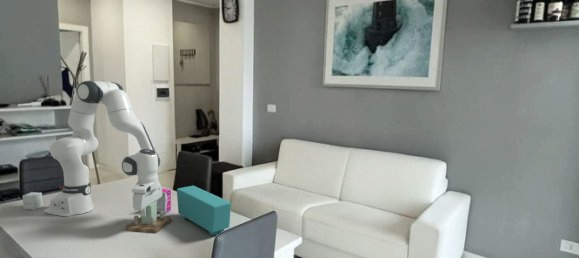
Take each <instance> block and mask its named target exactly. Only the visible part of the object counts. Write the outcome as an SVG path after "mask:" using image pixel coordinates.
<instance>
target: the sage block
mask: <svg viewBox="0 0 579 258" xmlns="http://www.w3.org/2000/svg"><path fill="white" fill-rule="evenodd" d="M145 210H146V212H147V215H146V216H142V212H141V211H140V217H141V224H150V225H151V217H155V222H156V221H157V215H158V213H157V202H153V203H152V204H150V205H149V206H147V207H146V209H145Z"/></svg>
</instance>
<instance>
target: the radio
mask: <svg viewBox="0 0 579 258" xmlns="http://www.w3.org/2000/svg"><path fill="white" fill-rule="evenodd" d="M176 196H177V198H176V199H177V212H178V214H179V215H181V216H183V220H186V219H188V220H189V221H191V222H193V223H194V224H196V225H198V226H199V227H201V228H202V229H204V230H207V231H208V233H209V235H210V236H214V235H219V234H218V233H220V232H222V231H224V232H225V229H229V228H230V224H231V210H232V208H231V207H232V202H230V201H228V200H226V199H224V198H222V197H219V196H218V195H215V194H213V193H210V192H209V191H206V190H204V189H201V188H200V187H197V186H195V185H189V186H184V187H180V188H179V187H178V188H177V189H176ZM220 234H221V233H220Z"/></svg>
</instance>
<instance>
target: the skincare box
mask: <svg viewBox="0 0 579 258" xmlns="http://www.w3.org/2000/svg"><path fill="white" fill-rule="evenodd" d="M22 205H23V206H22V207H23V210H37V209H39V208H41V207H43V206H44V204H43V193H42V192H33V191H31V192H29V193H25V194H23V195H22Z"/></svg>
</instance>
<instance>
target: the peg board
mask: <svg viewBox="0 0 579 258" xmlns="http://www.w3.org/2000/svg"><path fill="white" fill-rule="evenodd" d="M158 214H159V216H157V221H156V222H155V217H151V225H150V224H141V216H140V217H139V215H135V216H133V221H132V222H131V223H130V224H127V225H126V226H125V229H124V230H125V231H129V232H141V233H151V234H157V233H158V232H160V231H161V230H162V229H163V228H164V227H166V226H167V225H168V224H169V223H170V222H171V221H172V217H171V216H165V214H164V211H159V213H158Z"/></svg>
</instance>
